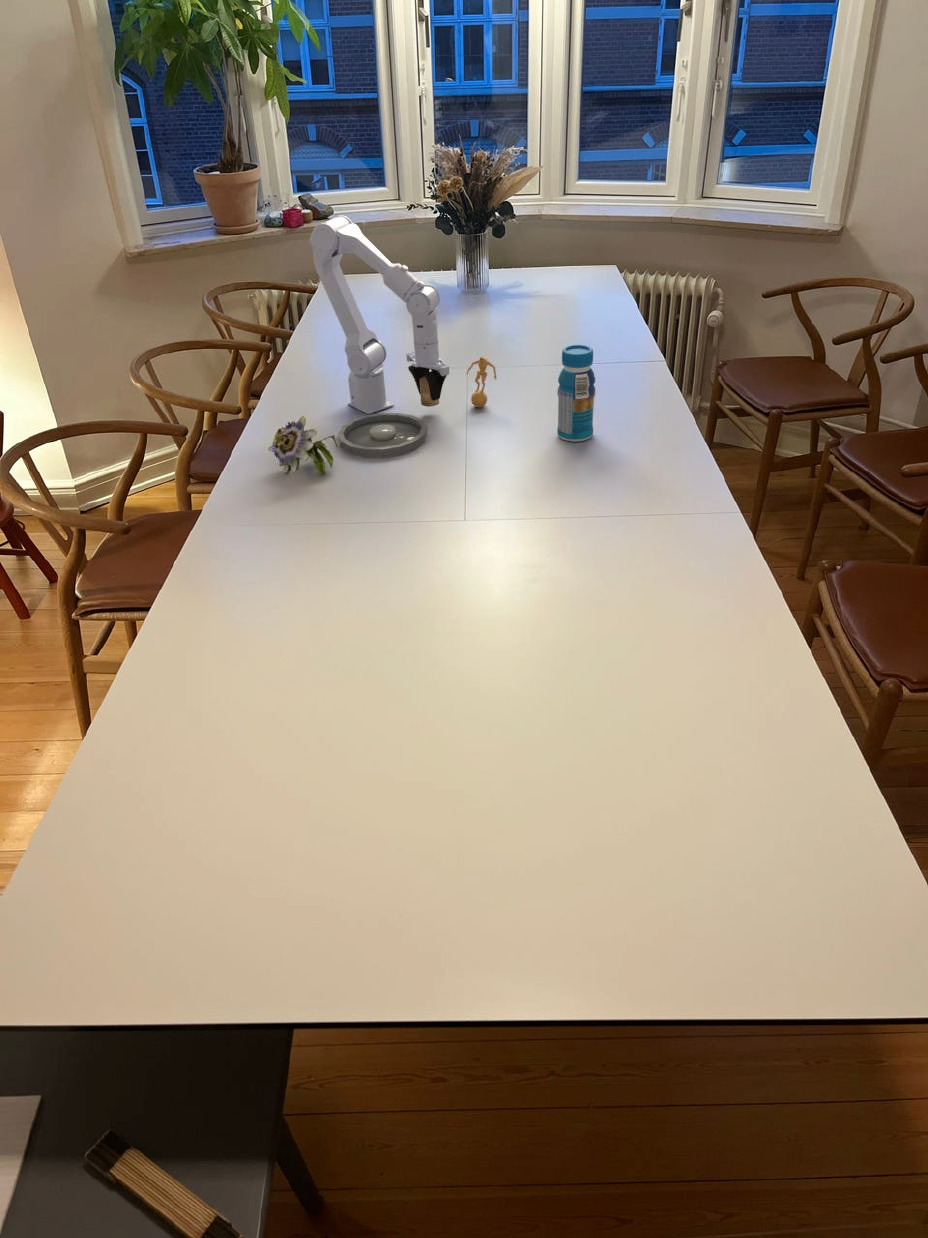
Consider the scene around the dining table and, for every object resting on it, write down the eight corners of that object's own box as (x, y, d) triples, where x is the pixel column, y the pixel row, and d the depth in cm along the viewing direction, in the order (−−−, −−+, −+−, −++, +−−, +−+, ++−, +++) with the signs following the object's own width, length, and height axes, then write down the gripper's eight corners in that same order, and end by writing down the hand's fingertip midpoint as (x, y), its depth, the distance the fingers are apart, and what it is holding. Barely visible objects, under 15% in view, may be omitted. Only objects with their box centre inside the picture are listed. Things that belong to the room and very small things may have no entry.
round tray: (323, 437, 206) (322, 429, 205) (394, 413, 216) (393, 405, 215) (371, 465, 193) (370, 457, 192) (444, 438, 203) (443, 430, 202)
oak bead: (417, 402, 214) (415, 378, 211) (431, 397, 216) (430, 374, 213) (428, 407, 212) (426, 383, 208) (442, 402, 214) (441, 378, 210)
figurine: (461, 406, 218) (458, 359, 211) (473, 398, 222) (471, 351, 215) (490, 412, 214) (488, 364, 207) (501, 403, 218) (500, 356, 211)
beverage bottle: (550, 439, 200) (552, 353, 188) (565, 425, 206) (566, 340, 194) (585, 445, 197) (588, 357, 185) (598, 430, 202) (603, 345, 191)
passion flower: (292, 497, 196) (253, 448, 192) (327, 467, 202) (289, 419, 198) (318, 481, 186) (277, 430, 182) (354, 450, 192) (314, 400, 188)
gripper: (394, 337, 208) (399, 392, 216) (430, 352, 198) (434, 409, 206) (418, 330, 211) (422, 385, 219) (455, 345, 202) (457, 401, 210)
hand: (429, 396), depth 213 cm, fingers closed on oak bead, 4 cm apart
